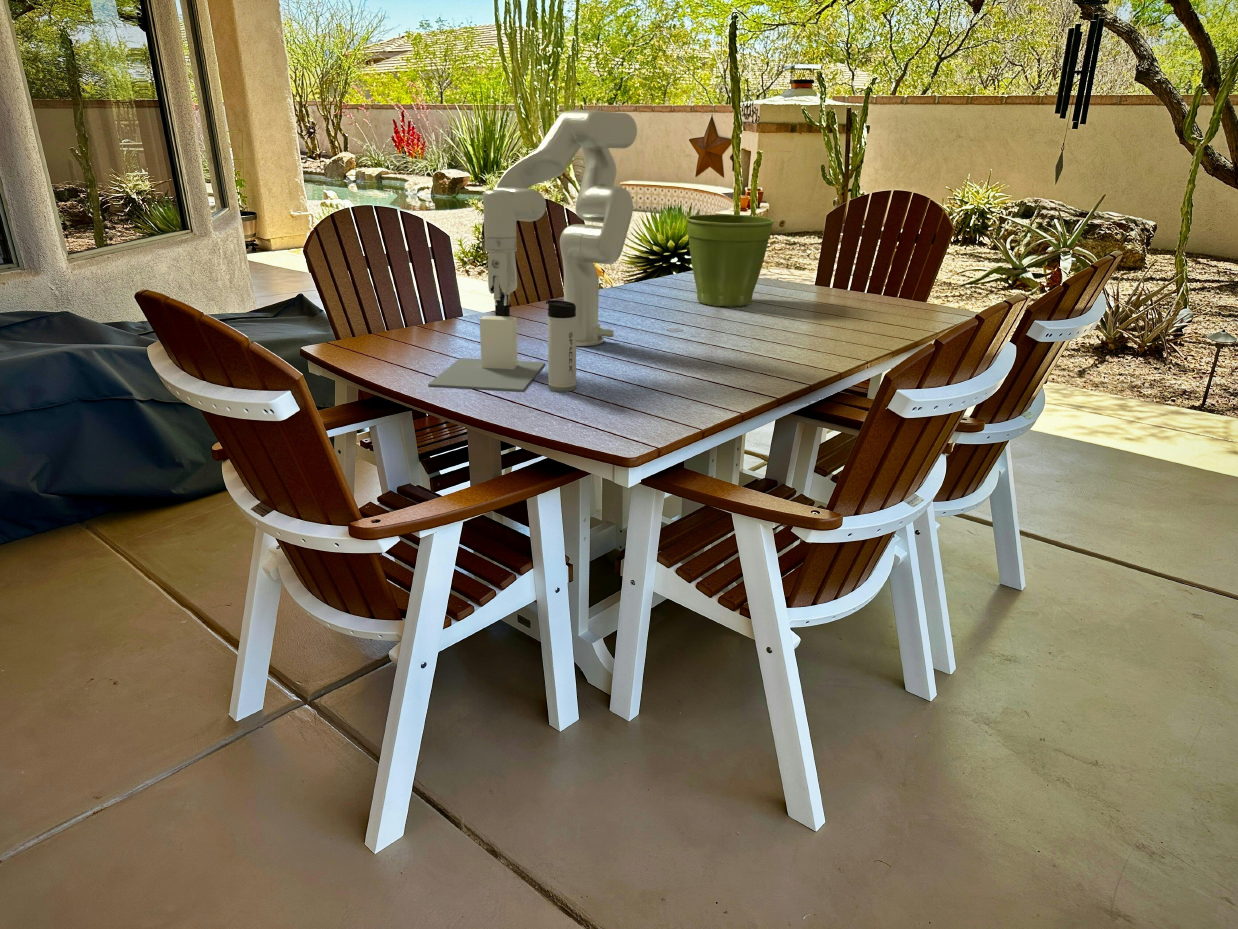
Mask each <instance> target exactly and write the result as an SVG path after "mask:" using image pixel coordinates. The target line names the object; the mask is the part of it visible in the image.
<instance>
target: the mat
mask: <svg viewBox="0 0 1238 929" xmlns="http://www.w3.org/2000/svg"><path fill="white" fill-rule="evenodd" d="M545 364H546V362H545V361H529V360H527V361H525V360H518V365H517V366H516V368H515V369H496V368H482V362H481V358H470V357H469V358H466V357H465V358H464V357H459V358H458V359H457V360H455V361H454V362H453V363H452V364H451V365H449V367H447V368H446V369H444V371H443V372H441V373H440V374H438V376H436V377H435V378H433V380H431V381H430V382H429V383H428V387H438V388H450V389H451V388H454V389H455V388H456V389H472V390H492V391H507V392H508V391H509V392H510V391H513V392H524V391H525V390H526V389H527V387H528V386H529V385H530V384H531V382H532V381H533V379H534V378H535V377H536V376H537V375H538V373H539V372H540V371H541V370H542V368H543V367H544V366H545Z"/></svg>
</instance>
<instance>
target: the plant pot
mask: <svg viewBox="0 0 1238 929" xmlns="http://www.w3.org/2000/svg"><path fill="white" fill-rule="evenodd" d="M685 220H686V222H687V236H688V243H689V253H690V254H689V255H690V260H691V261H690V262H691V268H692V273H693V278H694V279H693V280H694V283H695V288H696V296H697V297H696V299H697V301H698V302H699V303H700V304H703V305H706V304H707V306H711V305H713V307H720V306H738V307H742V306H741V305H745V306H748V305H751V303H752V302H753V295H754V291H755V288H756V285H757V284H758V280H759V277H760V275H761V270H762V268H763V264H764V260H765V256H766V254H767V253H766V252H767V249H768V245H769V240H770V238H771V234H772V228H773V224H774V223H775V220H774V219H773V218H769V217H765V216H764V217H763V216H756V215H745V214H743V215H742V214H696V215H689V216H686V217H685ZM747 304H748V305H747Z"/></svg>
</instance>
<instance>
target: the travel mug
mask: <svg viewBox="0 0 1238 929" xmlns="http://www.w3.org/2000/svg"><path fill="white" fill-rule="evenodd" d="M545 304H546V305H548V306H547V356H548V358H547V360H548V362H547V366H548V370H547V371H548V373H547V374H548V376H547V377H548V379H547V380H548V389H549V390H550V391H553V392H557V393H568V392H572V391H574V390H576V388H577V346H576V306H575V304H574V303H571V302H567V301H564V300H560V299H558V300H557V299H546V301H545Z"/></svg>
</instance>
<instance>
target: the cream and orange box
mask: <svg viewBox="0 0 1238 929" xmlns="http://www.w3.org/2000/svg"><path fill="white" fill-rule="evenodd" d="M517 330H518V329H517V316H510V317H505V316H495V315H483V316H482V317H480V318H479V334H480V335H479V336H480V339H479V340H480V356H481V357H480V359H481V362H482V368H496V369H515V368H516V366H517V365H518V361H519V360H518V359H519V358H518V334H517V333H518V331H517Z"/></svg>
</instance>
